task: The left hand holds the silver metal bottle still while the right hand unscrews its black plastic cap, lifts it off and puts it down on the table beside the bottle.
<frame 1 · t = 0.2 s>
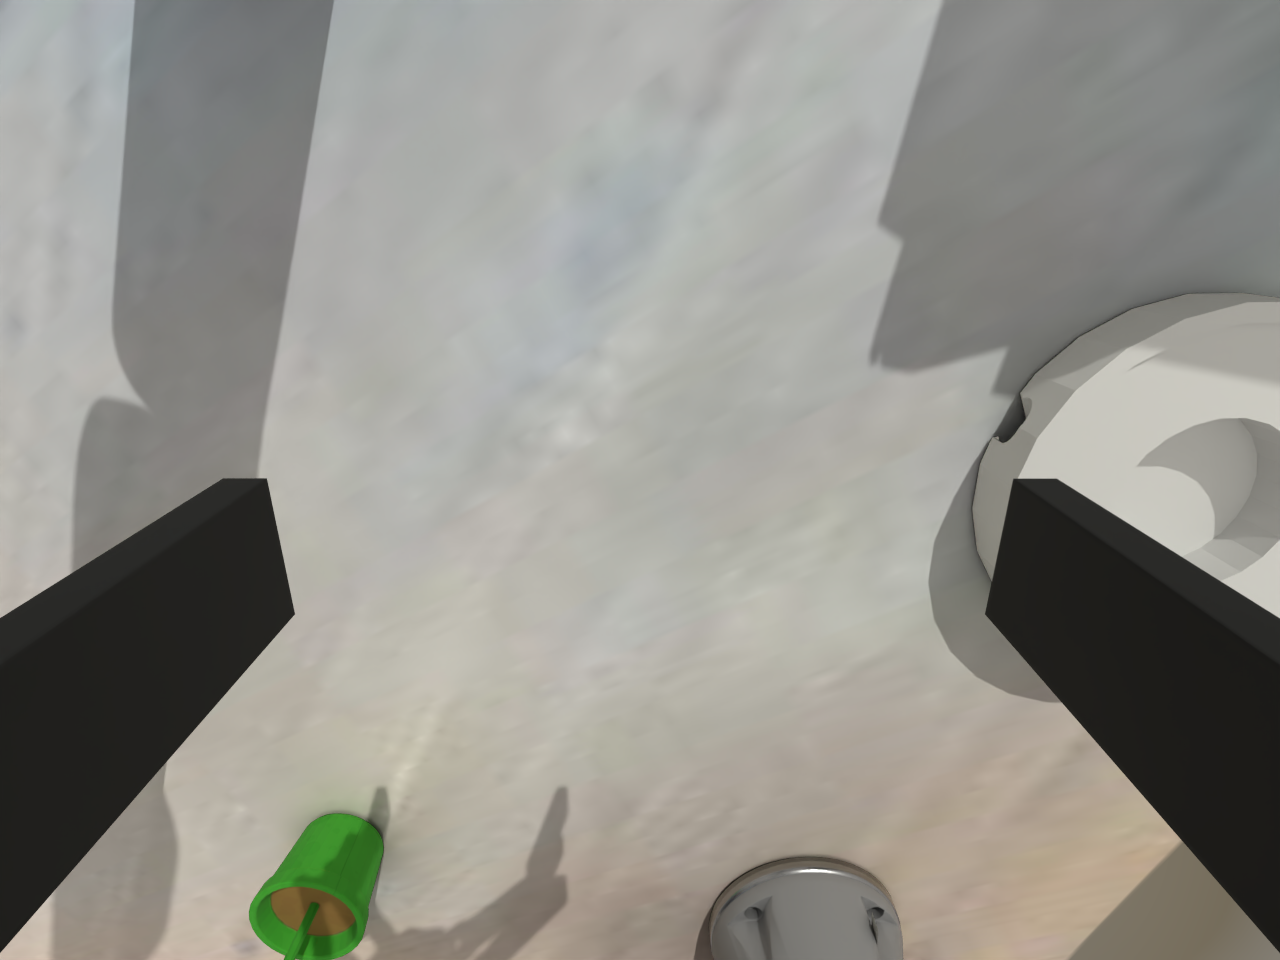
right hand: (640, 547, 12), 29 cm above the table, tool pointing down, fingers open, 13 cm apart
ashtray: (1159, 483, 43), on the table
potted flower: (349, 841, 54), on the table
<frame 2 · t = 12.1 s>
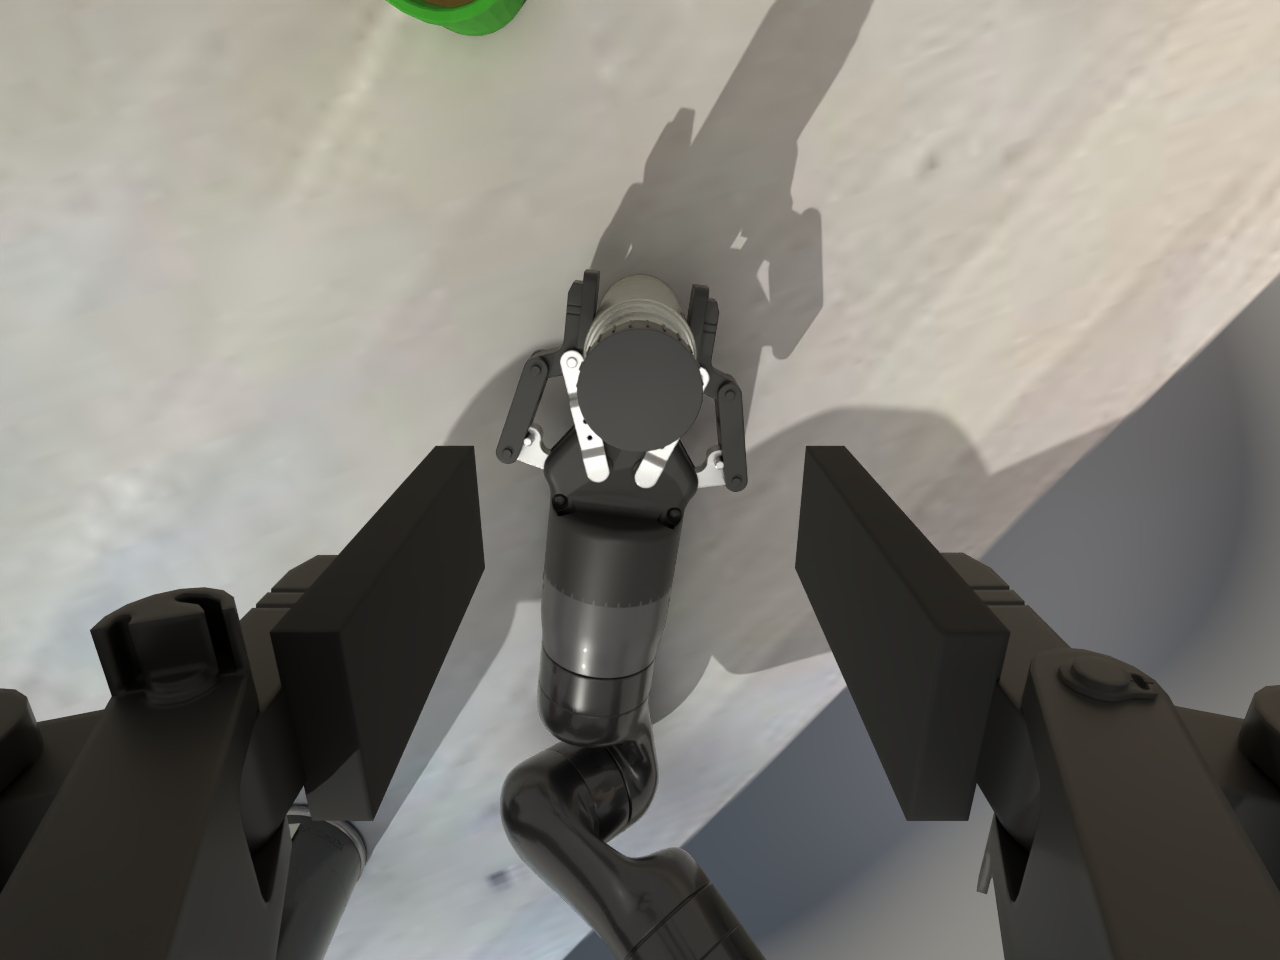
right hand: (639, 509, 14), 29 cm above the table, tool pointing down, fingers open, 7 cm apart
left hand: (646, 280, 34), fingers closed on bottle, 5 cm apart
cap: (639, 390, 24), point 19 cm above the table, screwed on, not yet turned
bottle: (639, 316, 41), on the table, touching left hand
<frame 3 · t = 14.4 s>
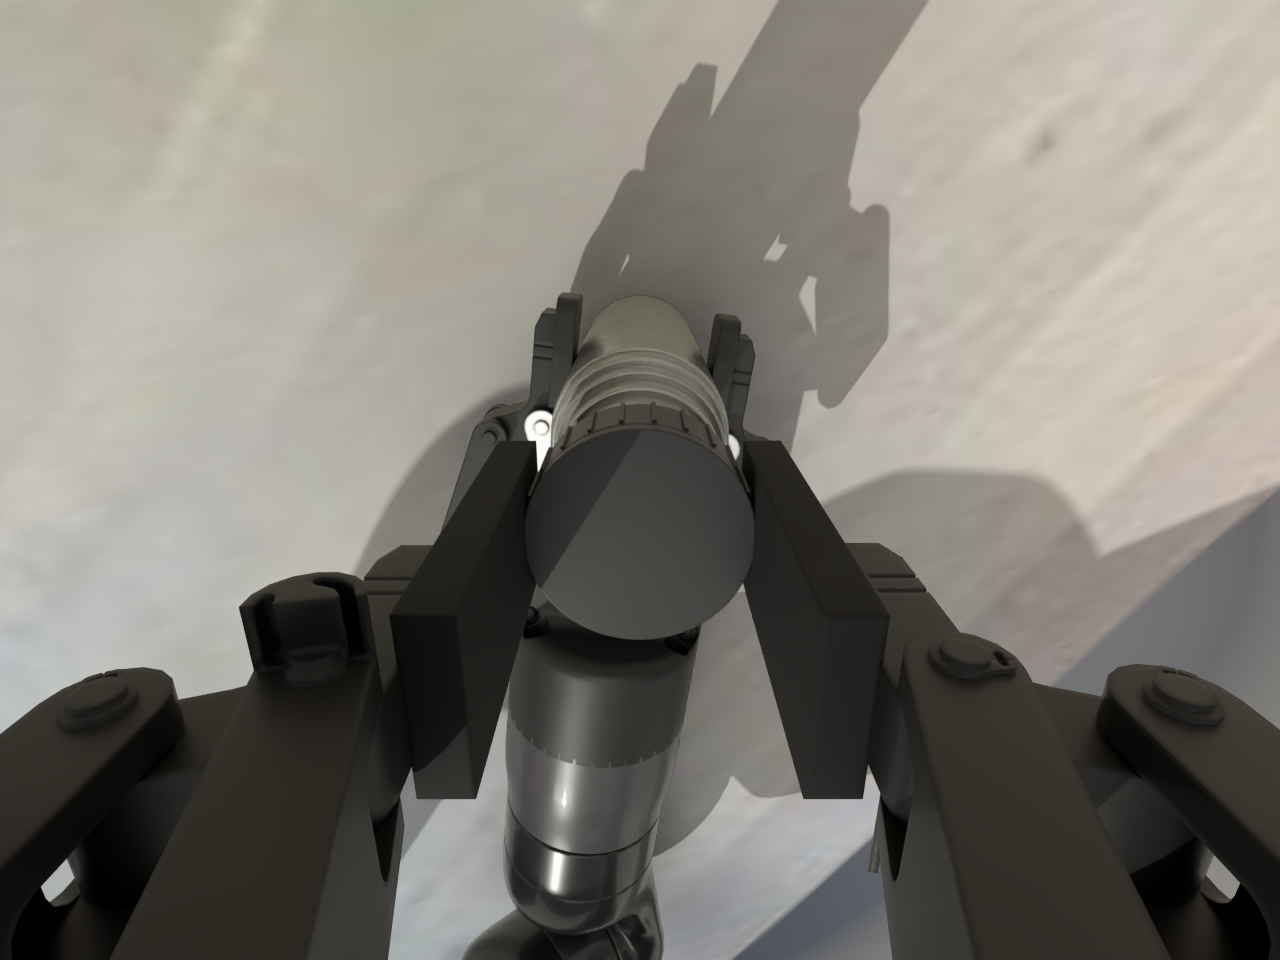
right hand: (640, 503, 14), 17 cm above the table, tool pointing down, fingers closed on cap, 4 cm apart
left hand: (648, 308, 24), fingers closed on bottle, 5 cm apart
cap: (639, 534, 13), point 19 cm above the table, screwed on, not yet turned, touching right hand
bottle: (639, 351, 30), on the table, touching left hand
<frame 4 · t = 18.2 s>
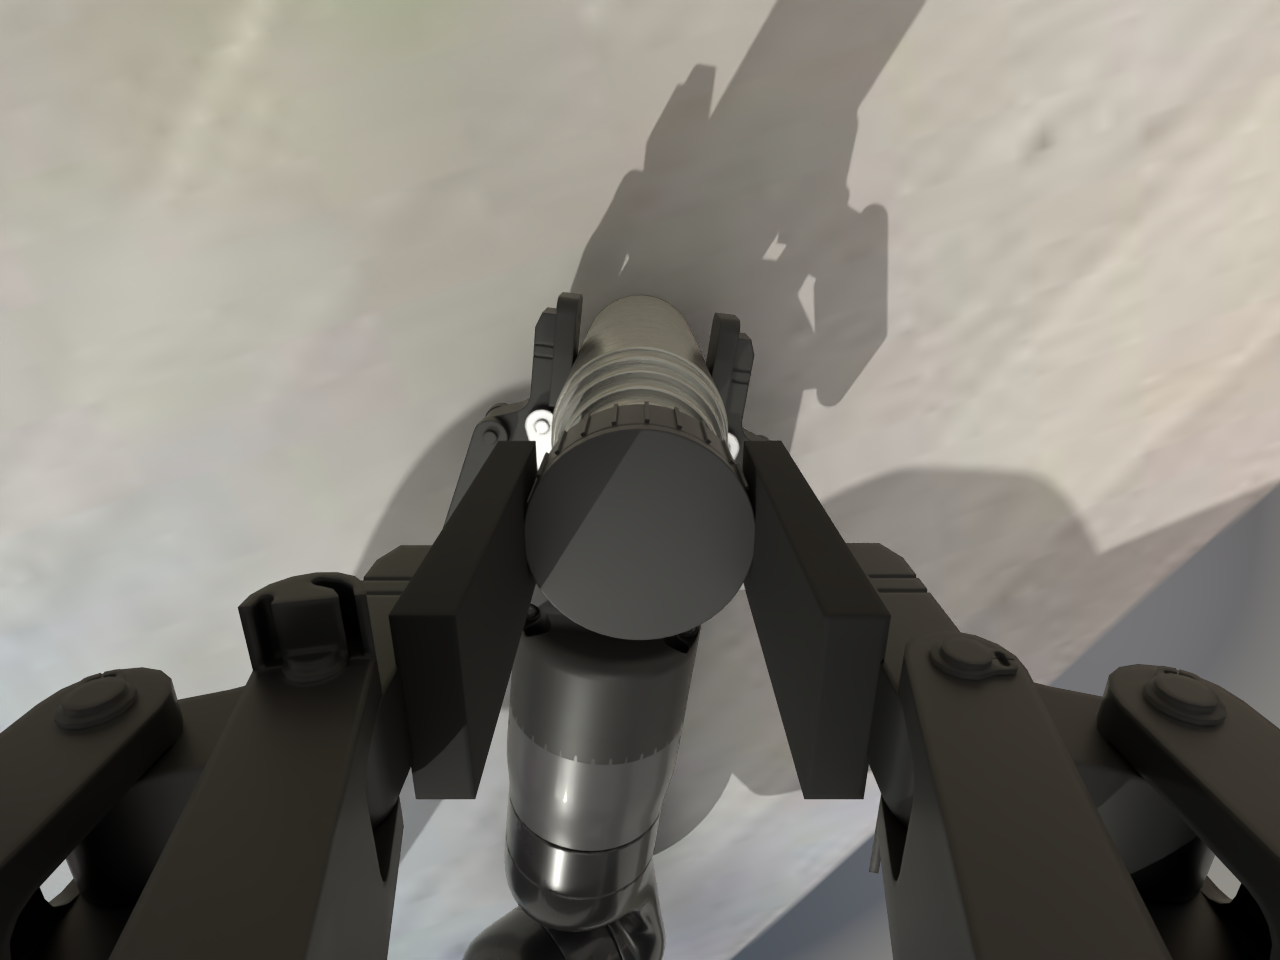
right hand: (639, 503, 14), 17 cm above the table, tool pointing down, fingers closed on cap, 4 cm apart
left hand: (648, 308, 24), fingers closed on bottle, 5 cm apart
cap: (639, 534, 13), point 19 cm above the table, turned 144° so far, risen 0.2 cm, still on its thread, touching right hand
bottle: (639, 351, 30), on the table, touching left hand
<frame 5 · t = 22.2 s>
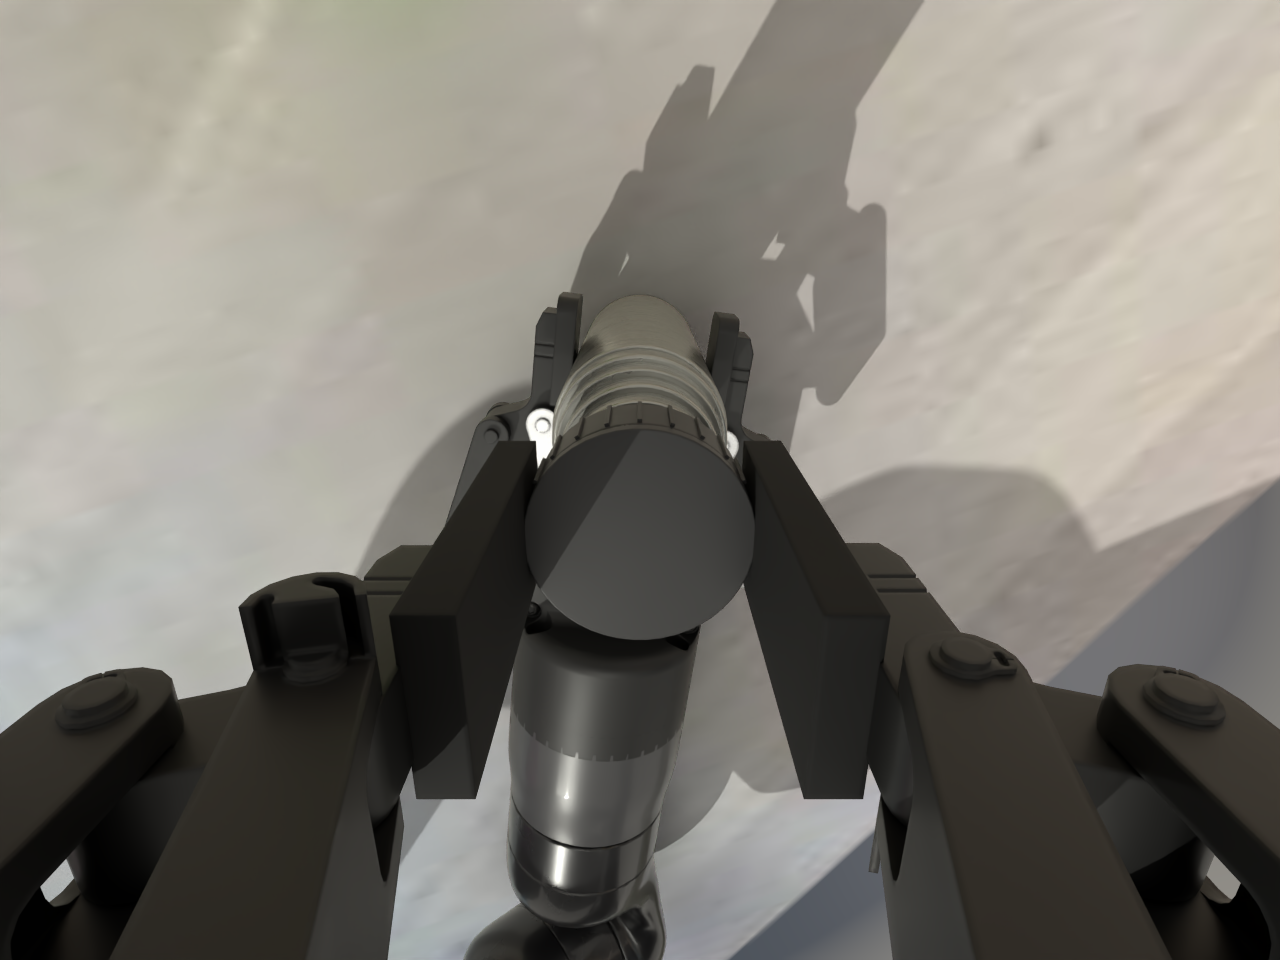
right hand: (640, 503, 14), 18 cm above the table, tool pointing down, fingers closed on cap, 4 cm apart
left hand: (648, 307, 24), fingers closed on bottle, 5 cm apart
cap: (639, 534, 13), point 19 cm above the table, turned 288° so far, risen 0.3 cm, still on its thread, touching right hand
bottle: (639, 350, 31), on the table, touching left hand
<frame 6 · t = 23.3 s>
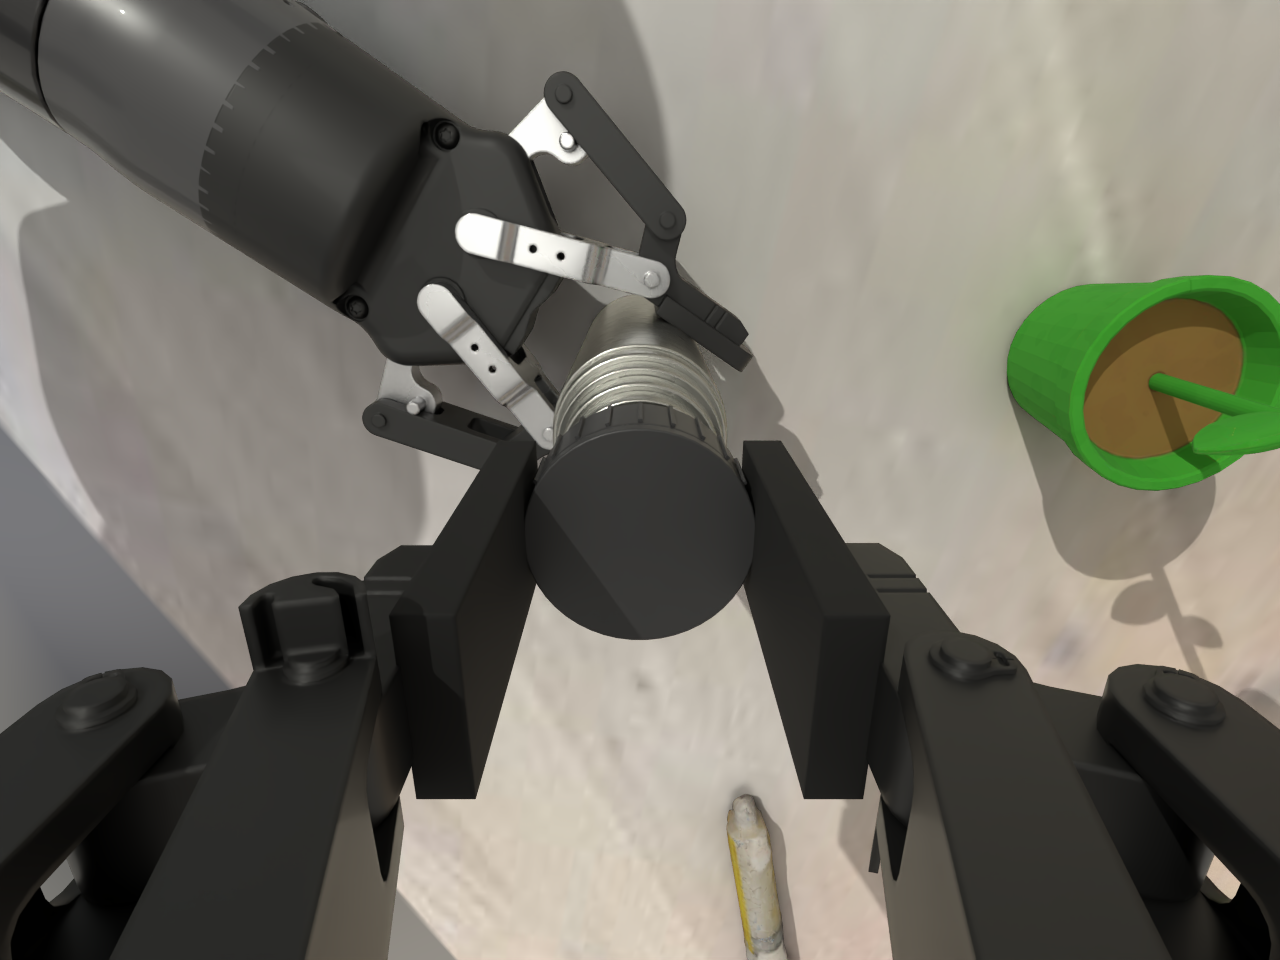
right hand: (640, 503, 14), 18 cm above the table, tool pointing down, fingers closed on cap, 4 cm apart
left hand: (698, 418, 26), fingers closed on bottle, 5 cm apart
cap: (639, 534, 13), point 19 cm above the table, off its thread, touching right hand
bottle: (639, 349, 31), on the table, touching left hand
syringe: (767, 936, 44), on the table
potted flower: (1077, 352, 31), on the table
when the right hand's fingers open (1 cm above the table, at t = 29.8 s): cap stays where it is, point 1 cm above the table.
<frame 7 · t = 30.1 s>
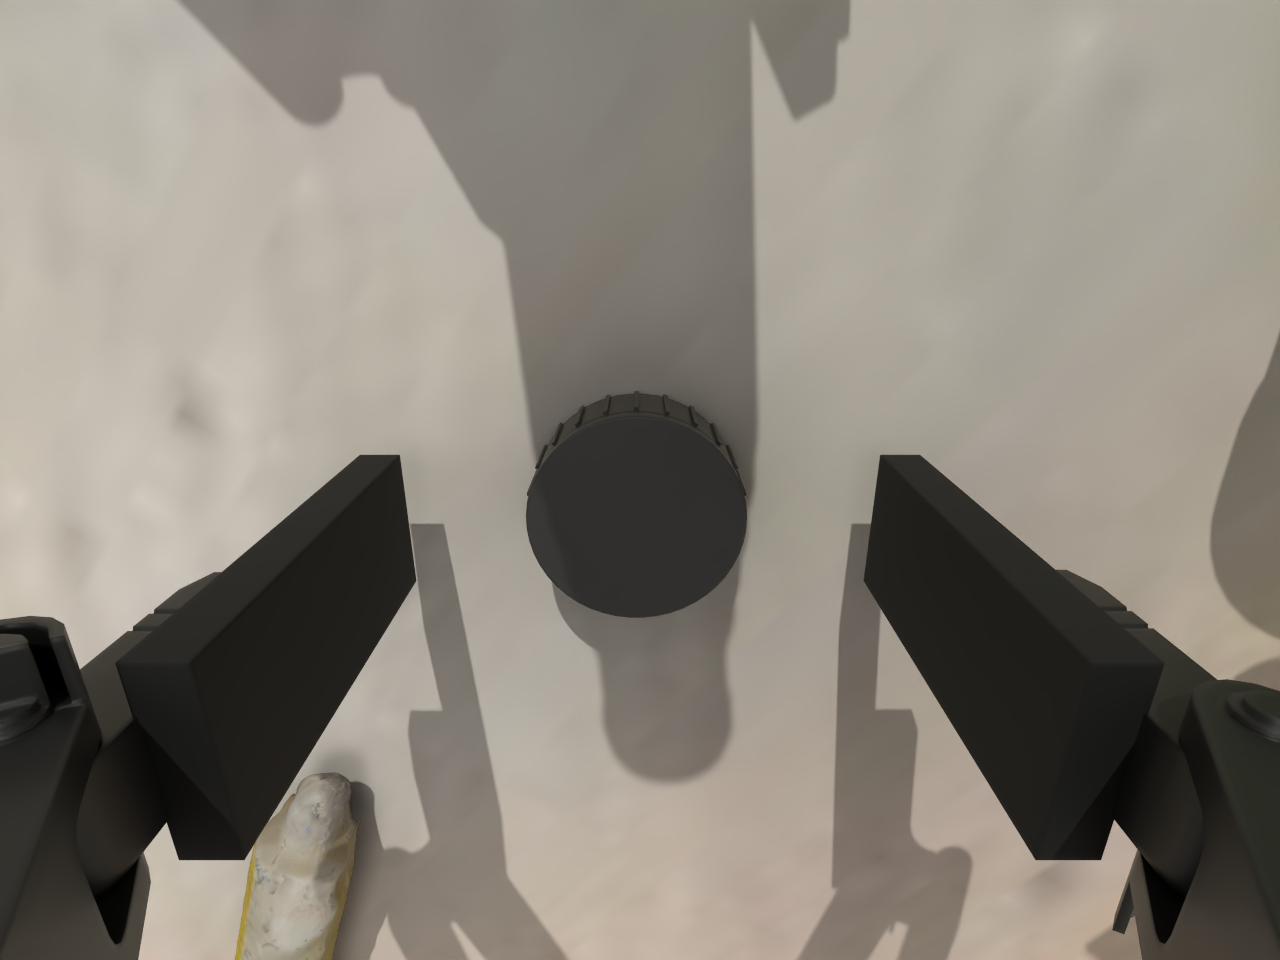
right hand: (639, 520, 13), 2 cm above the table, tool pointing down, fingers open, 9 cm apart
cap: (636, 516, 14), point 1 cm above the table, off its thread
when the left hand's fingers open (6 cm above the table, at t = 31.0 s): bottle stays where it is, on the table.
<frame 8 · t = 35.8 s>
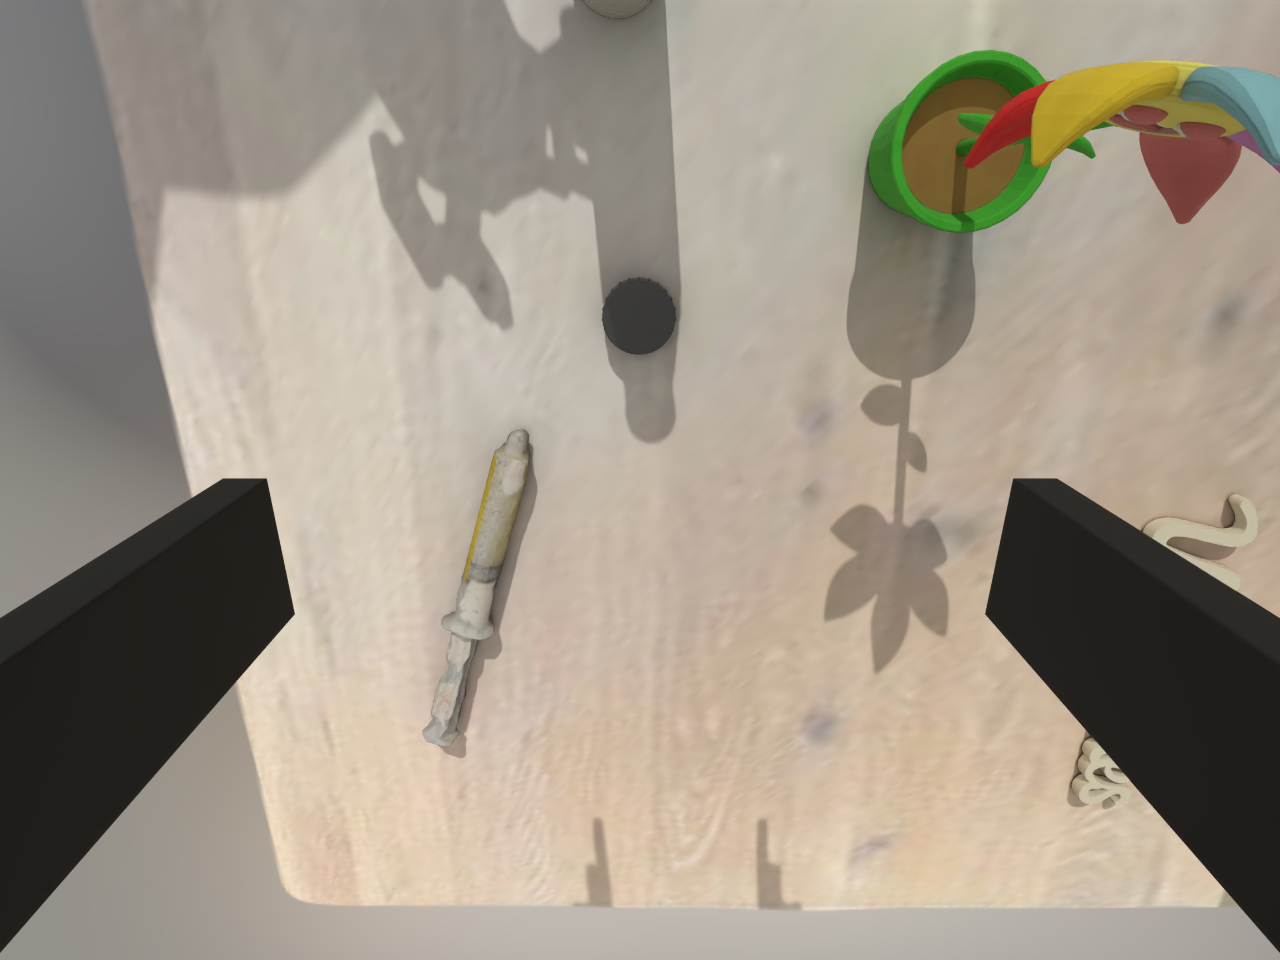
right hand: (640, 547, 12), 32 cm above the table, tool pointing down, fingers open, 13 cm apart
decorative sign: (1132, 657, 51), on the table
cap: (638, 317, 41), point 1 cm above the table, off its thread
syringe: (482, 592, 49), on the table
potted flower: (925, 158, 39), on the table
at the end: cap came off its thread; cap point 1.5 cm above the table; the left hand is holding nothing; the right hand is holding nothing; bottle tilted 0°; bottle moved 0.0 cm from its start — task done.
